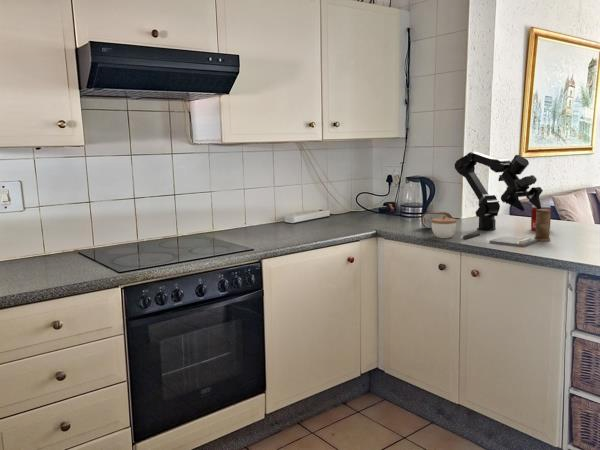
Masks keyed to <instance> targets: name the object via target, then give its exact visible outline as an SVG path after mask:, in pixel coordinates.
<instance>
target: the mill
mask: <svg viewBox="0 0 600 450" xmlns="http://www.w3.org/2000/svg"><path fill="white" fill-rule="evenodd" d="M550 212H551V213H552V209H551V210H548V209H537V210H536V231H535V236H534V237H533V239H537V242H543V243H544V242H545V243H546V242H551V237H550V229H551V220H550Z"/></svg>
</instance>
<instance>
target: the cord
mask: <svg viewBox="0 0 600 450" xmlns="http://www.w3.org/2000/svg"><path fill="white" fill-rule="evenodd" d="M480 235H481V232H480V231H475V232H472V233H471V232H470V233H468V234H465V235H464V234H463V236H462V239H463V240H467V239H471V238H473V237H474V238H475V237H477V236H480Z"/></svg>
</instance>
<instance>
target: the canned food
mask: <svg viewBox="0 0 600 450" xmlns="http://www.w3.org/2000/svg"><path fill="white" fill-rule="evenodd" d="M537 209H538V208H536V207H535V206H534V205H533V204H532V206H531V210H530V211H531V216H530V217H531V219H530V229H531V230H532V231H535V232H536V210H537ZM541 209H548V210H551V212H550V221H551V218H552V217H551V216H552V214H551V213H552V207H551V205H547V204H546V205H545V204H541Z"/></svg>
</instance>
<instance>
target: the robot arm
mask: <svg viewBox="0 0 600 450" xmlns="http://www.w3.org/2000/svg"><path fill="white" fill-rule="evenodd" d="M477 164H480V165H484V166H486V167H489V169H490V170H491V171H492V172H494V173H501V174H500V175H499V176H498V179H497V180H498V182H504V183H505V185H506V190H505V191H504V192H503V193H502V194H501V195H500V200H501V202H502V203H506V204H508V205H510V206H512V207H514V208H516V209H517V210H520V211H522V212H524V211H525V210H526V209H525V207H524V205H523V204H522V202H521V200H520V199H519V198H522V197H523V198H524V197H526V199H527V200H528V201H529V203H530V204H531V205H532V206H533V205H534V206H535V207H536V208H538V209H541V205H542V204H541V201H540V195H541V194H542V193H543V189H542V187H541V186H535V187H534V186H533V187H531V188H530V186H531V185H534V184H536V183H537V180H538V179H537V177H536V176H535V175H533V174H532V175H527V176H524V177H522V178H519V176H518V175H521V174H522V173H523V172H524V171H525V169H526V168H527V167H529V165H530V161H529V160H528V159H526V158H525V157H523V156H521V155H520V154H515V155H514V157H513V158H512V159H511V160H510V159H507V158H496V157H492V156H490V155H487V154H484V153H481V152H479V151H470V152H468V153H467V154H466V155H464V156H462V157H461V158H459V159H457V160H456V161H455V163H454V169H455V171H456V172H457V173H458V174H459V175H460V176H462V177H464V179H465V180H466V181H467V184H468V185H469V186H470V188H471V189H472V191H473V192H474V194H475V196H476V198H477V199H478V208H477V210H476V211H475V216H476V217H478V227H476V229H477V230H481V231H494V230H496V229H497V227H496V219H495V217H498V215H499V211H500V208H501V204H500V200H498V198H497V195H495V194H493V195H492V194H491V195H490V194H489V193H488V191H487V189H486V188H485V186H484V185H483V184H482V181H481V180H480V178H479V177H478V176H477V174H476V172H475V171H476V167H475V166H476V165H477ZM529 189H530V190H529Z"/></svg>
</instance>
